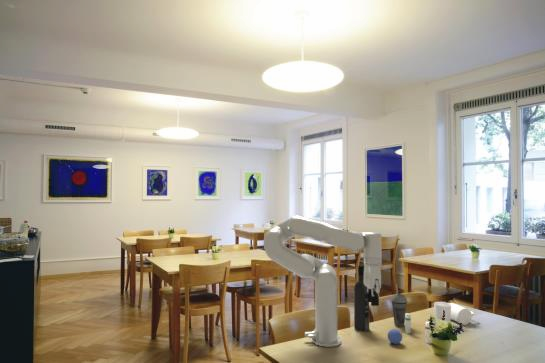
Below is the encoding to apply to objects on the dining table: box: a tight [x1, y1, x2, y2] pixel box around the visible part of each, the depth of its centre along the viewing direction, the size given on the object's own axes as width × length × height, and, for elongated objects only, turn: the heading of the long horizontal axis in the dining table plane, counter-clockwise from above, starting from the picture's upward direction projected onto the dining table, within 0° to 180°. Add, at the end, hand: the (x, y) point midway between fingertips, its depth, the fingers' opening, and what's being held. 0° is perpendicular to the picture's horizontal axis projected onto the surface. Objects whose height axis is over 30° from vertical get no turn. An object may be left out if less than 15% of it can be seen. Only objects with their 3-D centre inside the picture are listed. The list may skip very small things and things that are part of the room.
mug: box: [449, 302, 476, 326], centre depth 192 cm, size 12×10×8 cm
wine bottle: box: [353, 264, 370, 333], centre depth 181 cm, size 6×6×30 cm
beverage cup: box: [391, 283, 408, 328], centre depth 186 cm, size 7×7×20 cm
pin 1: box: [404, 312, 412, 335], centre depth 176 cm, size 2×2×9 cm
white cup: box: [433, 301, 452, 323], centre depth 187 cm, size 8×8×10 cm
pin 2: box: [424, 321, 432, 345], centre depth 164 cm, size 2×2×9 cm
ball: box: [387, 328, 403, 345], centre depth 163 cm, size 6×6×6 cm
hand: (373, 303), depth 163 cm, fingers open, 4 cm apart
